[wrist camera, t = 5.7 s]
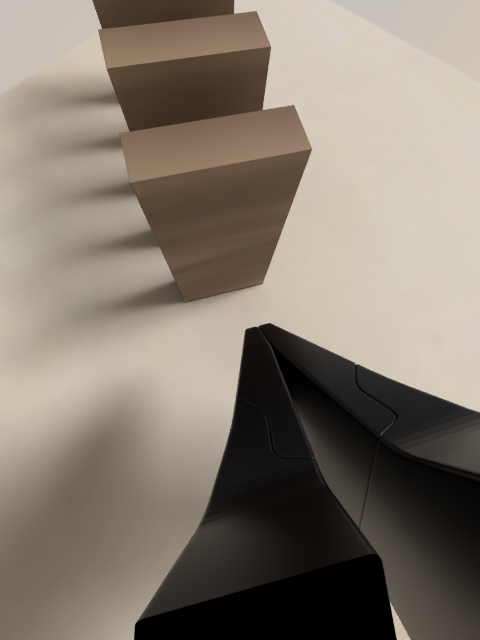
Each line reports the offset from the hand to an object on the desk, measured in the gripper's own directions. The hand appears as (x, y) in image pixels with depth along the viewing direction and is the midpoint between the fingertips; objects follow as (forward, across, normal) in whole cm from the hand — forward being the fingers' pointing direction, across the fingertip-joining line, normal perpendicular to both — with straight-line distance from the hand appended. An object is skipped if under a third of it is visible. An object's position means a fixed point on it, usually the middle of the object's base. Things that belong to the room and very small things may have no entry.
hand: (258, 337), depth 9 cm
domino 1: (+9, 0, +2) cm, 9 cm away
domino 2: (+12, 0, -1) cm, 12 cm away
